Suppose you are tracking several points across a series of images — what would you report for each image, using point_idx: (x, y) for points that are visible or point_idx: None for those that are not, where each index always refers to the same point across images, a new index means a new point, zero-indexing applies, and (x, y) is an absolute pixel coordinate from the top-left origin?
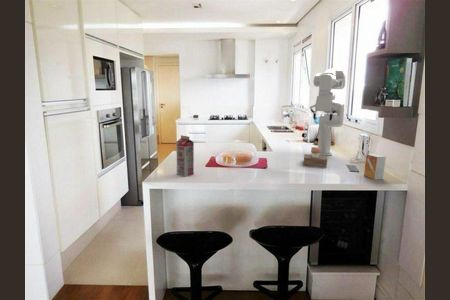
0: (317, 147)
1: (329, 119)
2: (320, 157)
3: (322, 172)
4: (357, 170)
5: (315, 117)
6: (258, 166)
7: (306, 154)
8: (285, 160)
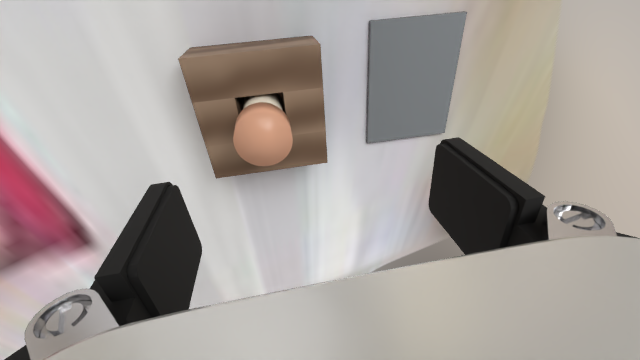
0: (271, 123)
1: (440, 177)
2: (293, 122)
3: (306, 195)
4: (442, 121)
5: (193, 279)
6: (42, 230)
7: (198, 71)
8: (64, 40)
